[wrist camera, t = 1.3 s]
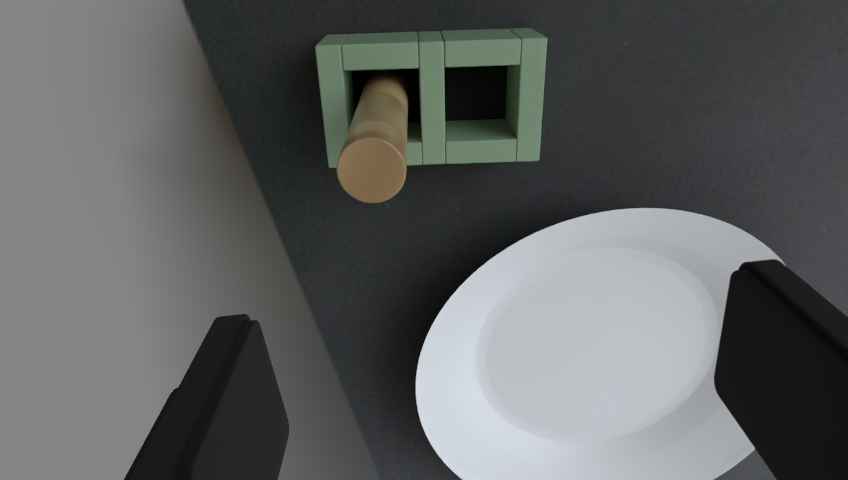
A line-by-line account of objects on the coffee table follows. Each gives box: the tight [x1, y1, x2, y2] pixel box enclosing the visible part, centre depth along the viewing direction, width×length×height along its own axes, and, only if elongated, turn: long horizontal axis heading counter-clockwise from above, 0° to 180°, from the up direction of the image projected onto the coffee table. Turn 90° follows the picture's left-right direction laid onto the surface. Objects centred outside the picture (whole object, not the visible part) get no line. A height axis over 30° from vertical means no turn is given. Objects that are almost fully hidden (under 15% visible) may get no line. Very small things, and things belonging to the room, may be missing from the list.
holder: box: [315, 28, 547, 168], centre depth 29 cm, size 11×6×4 cm, turn 92°
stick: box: [337, 69, 408, 203], centre depth 25 cm, size 2×2×13 cm
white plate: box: [416, 208, 787, 480], centre depth 38 cm, size 25×25×4 cm
